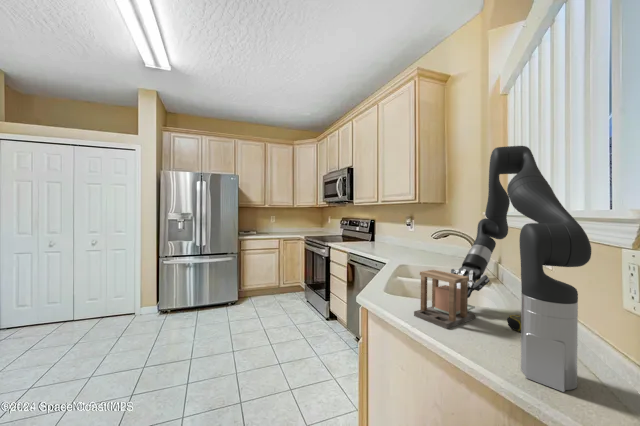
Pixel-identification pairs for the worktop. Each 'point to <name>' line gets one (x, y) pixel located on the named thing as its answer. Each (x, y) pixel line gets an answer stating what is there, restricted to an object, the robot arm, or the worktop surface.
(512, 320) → the tape measure
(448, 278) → the brown table-shaped piece
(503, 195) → the robot arm
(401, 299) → the worktop surface
